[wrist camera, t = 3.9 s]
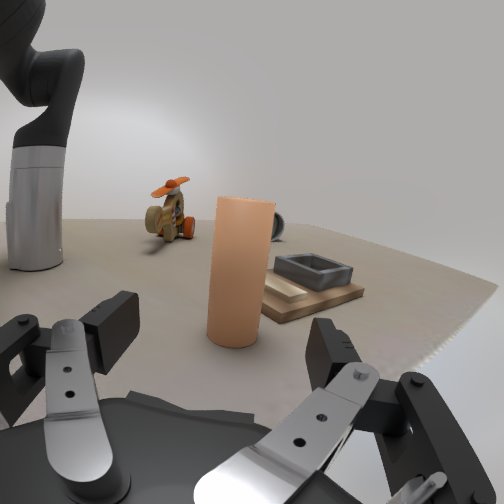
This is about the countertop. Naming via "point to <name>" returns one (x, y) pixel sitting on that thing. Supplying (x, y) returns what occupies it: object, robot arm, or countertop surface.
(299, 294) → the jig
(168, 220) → the toy helicopter
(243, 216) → the cylinder
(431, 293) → the countertop surface
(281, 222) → the ceramic mug
